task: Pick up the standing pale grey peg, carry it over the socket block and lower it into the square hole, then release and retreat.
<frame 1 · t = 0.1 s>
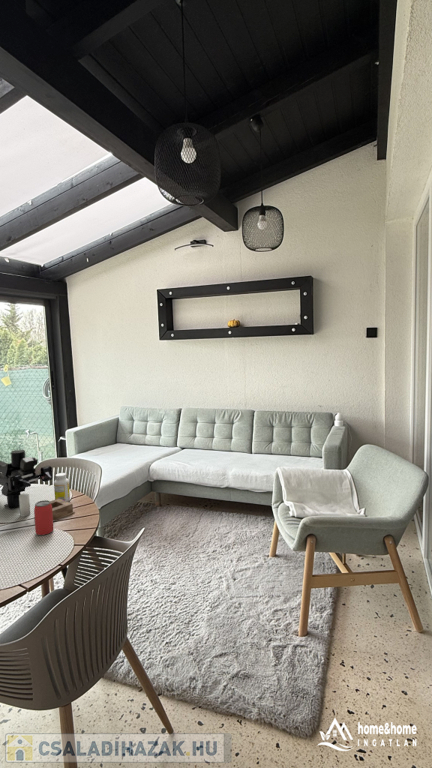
hand: (41, 481, 174), 17 cm above the table, tool horizontal, fingers open, 9 cm apart
supplement bottle: (62, 500, 197), on the table
peg: (25, 514, 181), on the table
socket: (54, 514, 181), on the table
beer can: (44, 532, 164), on the table
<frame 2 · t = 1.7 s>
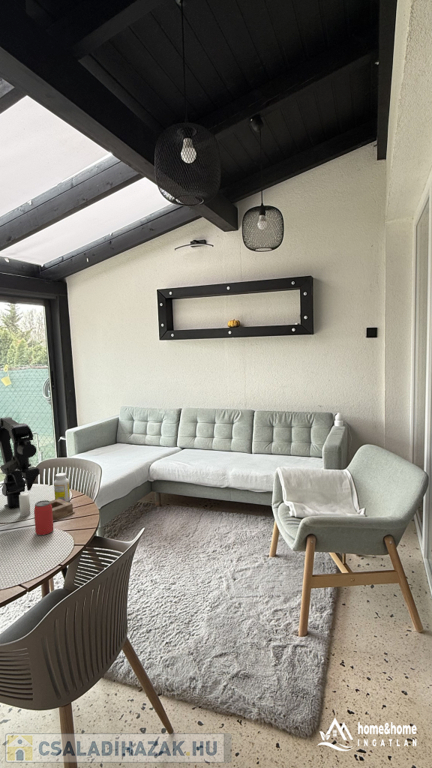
hand: (23, 488, 180), 12 cm above the table, tool pointing down, fingers open, 9 cm apart
nothing on the table moved.
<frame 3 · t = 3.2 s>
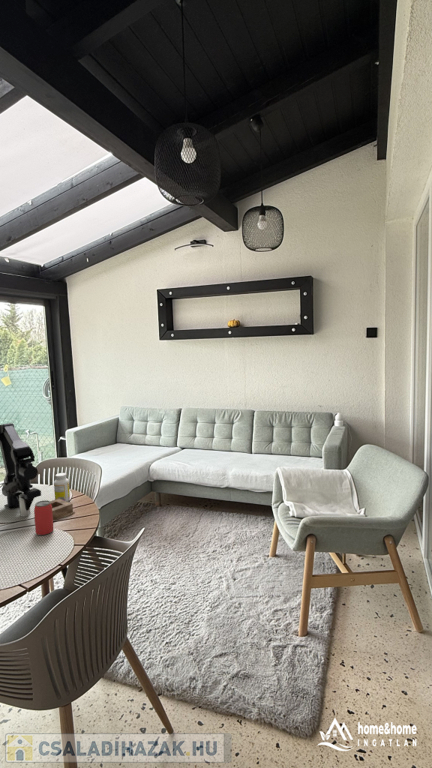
hand: (25, 509, 181), 3 cm above the table, tool pointing down, fingers closed on peg, 4 cm apart
peg: (25, 514, 181), on the table, touching gripper
everything else where it was.
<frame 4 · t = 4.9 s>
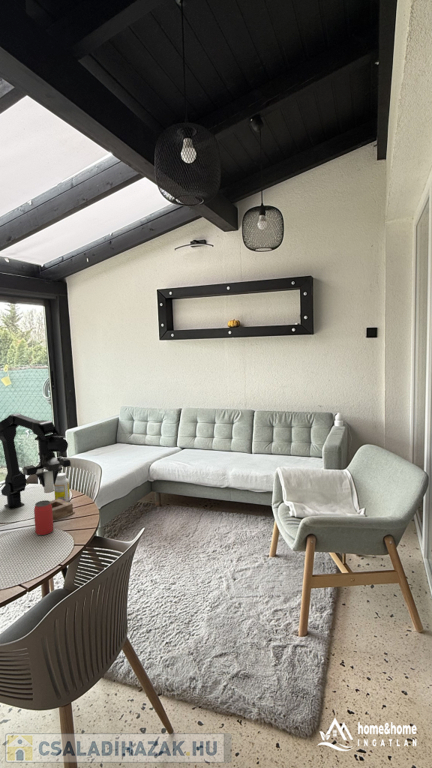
hand: (48, 485, 180), 13 cm above the table, tool pointing down, fingers closed on peg, 4 cm apart
peg: (49, 491, 180), point 10 cm above the table, touching gripper
everything else where it was.
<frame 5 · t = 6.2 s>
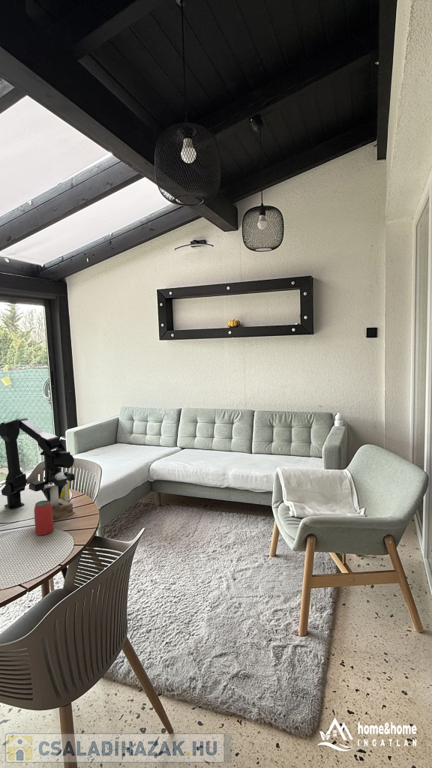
hand: (53, 500, 181), 6 cm above the table, tool pointing down, fingers closed on peg, 4 cm apart
peg: (54, 505, 181), point 4 cm above the table, touching gripper
everything else where it was.
when the fingers open (5 cm above the table, at t = 6.9 s): peg drops 1 cm, resting on socket.
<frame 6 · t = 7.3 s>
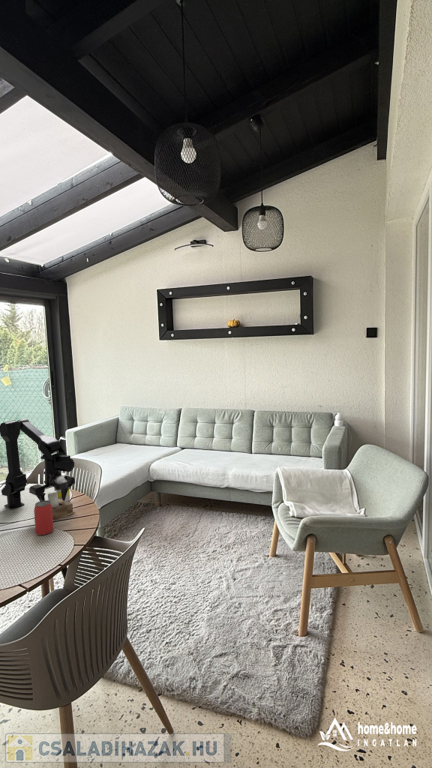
hand: (54, 503, 181), 5 cm above the table, tool pointing down, fingers open, 9 cm apart
peg: (54, 512, 181), point 1 cm above the table, touching socket
everything else where it was.
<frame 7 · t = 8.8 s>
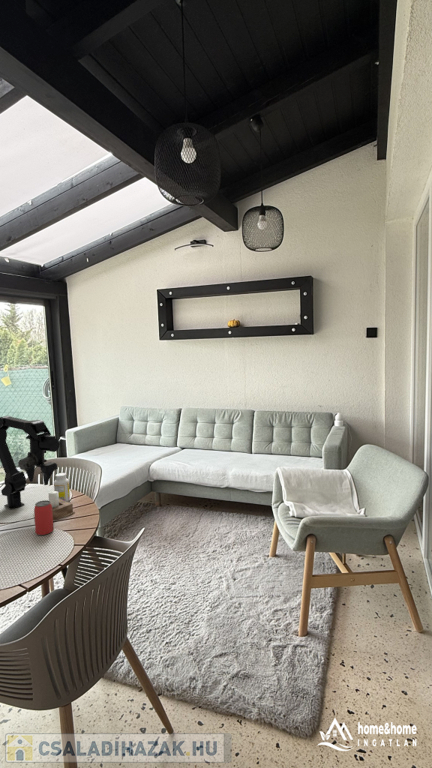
hand: (38, 483, 184), 13 cm above the table, tool pointing down, fingers open, 9 cm apart
nothing on the table moved.
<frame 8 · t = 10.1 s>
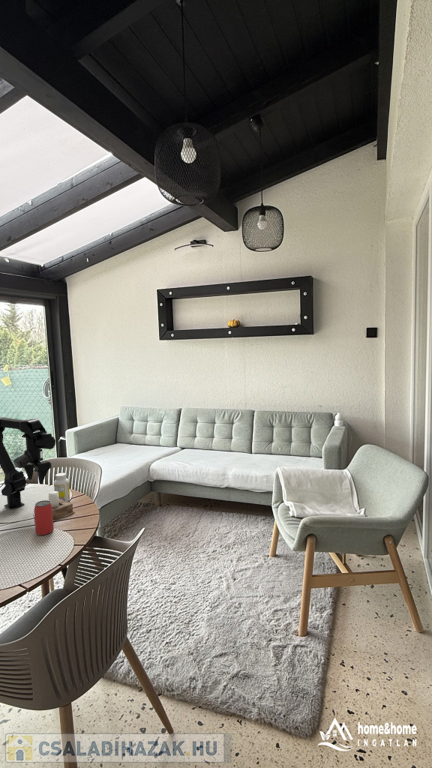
hand: (35, 481, 185), 13 cm above the table, tool pointing down, fingers open, 9 cm apart
nothing on the table moved.
at the end: peg 0.0 cm off-centre on the socket, point 0.6 cm above the socket's base; peg tilted 0°; the gripper is holding nothing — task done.
